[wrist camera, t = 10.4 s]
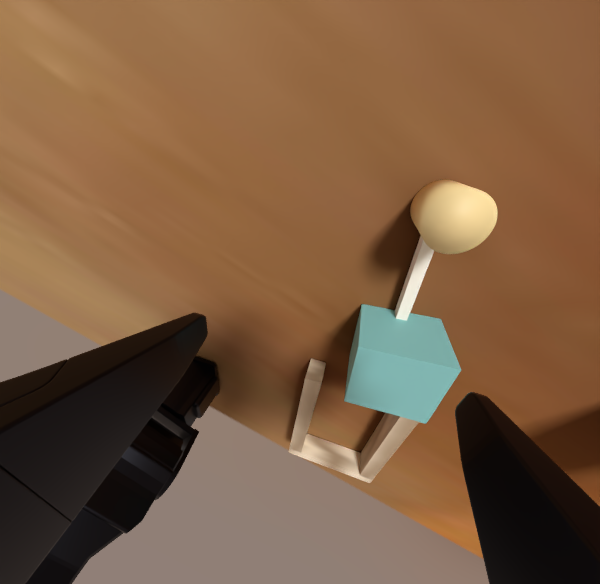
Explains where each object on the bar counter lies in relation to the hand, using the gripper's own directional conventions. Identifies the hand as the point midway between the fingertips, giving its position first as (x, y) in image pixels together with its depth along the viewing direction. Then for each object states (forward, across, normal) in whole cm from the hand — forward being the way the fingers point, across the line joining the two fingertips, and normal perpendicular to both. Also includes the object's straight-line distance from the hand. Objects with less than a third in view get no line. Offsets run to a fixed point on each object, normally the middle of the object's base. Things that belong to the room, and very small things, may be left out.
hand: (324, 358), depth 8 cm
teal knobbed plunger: (+11, -5, +2) cm, 12 cm away
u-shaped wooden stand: (+11, -5, +20) cm, 23 cm away
